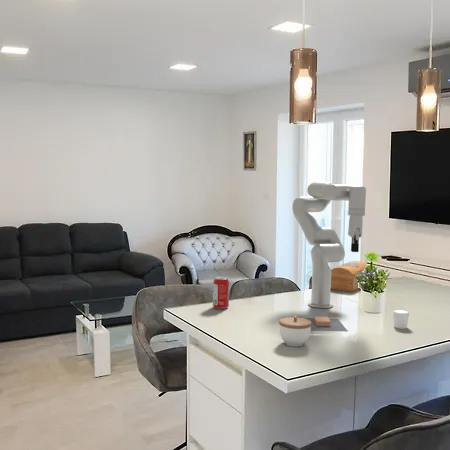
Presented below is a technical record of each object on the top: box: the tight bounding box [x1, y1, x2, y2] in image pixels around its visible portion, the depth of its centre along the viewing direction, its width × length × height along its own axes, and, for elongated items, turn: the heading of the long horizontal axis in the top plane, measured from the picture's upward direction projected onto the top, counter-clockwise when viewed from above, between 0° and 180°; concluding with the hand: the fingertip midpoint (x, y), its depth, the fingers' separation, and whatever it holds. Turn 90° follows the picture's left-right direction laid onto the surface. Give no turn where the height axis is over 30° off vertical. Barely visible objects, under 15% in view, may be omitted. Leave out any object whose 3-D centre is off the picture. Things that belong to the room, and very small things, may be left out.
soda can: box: [212, 276, 230, 310], centre depth 274 cm, size 8×8×15 cm
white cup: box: [392, 309, 410, 329], centre depth 248 cm, size 7×7×7 cm
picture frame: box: [313, 316, 331, 326], centre depth 247 cm, size 2×6×8 cm
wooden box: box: [330, 260, 367, 293], centre depth 335 cm, size 30×16×14 cm, turn 148°
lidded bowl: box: [278, 315, 311, 348], centre depth 219 cm, size 13×13×11 cm
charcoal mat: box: [303, 317, 348, 332], centre depth 247 cm, size 20×18×1 cm
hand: (354, 251), depth 259 cm, fingers closed
